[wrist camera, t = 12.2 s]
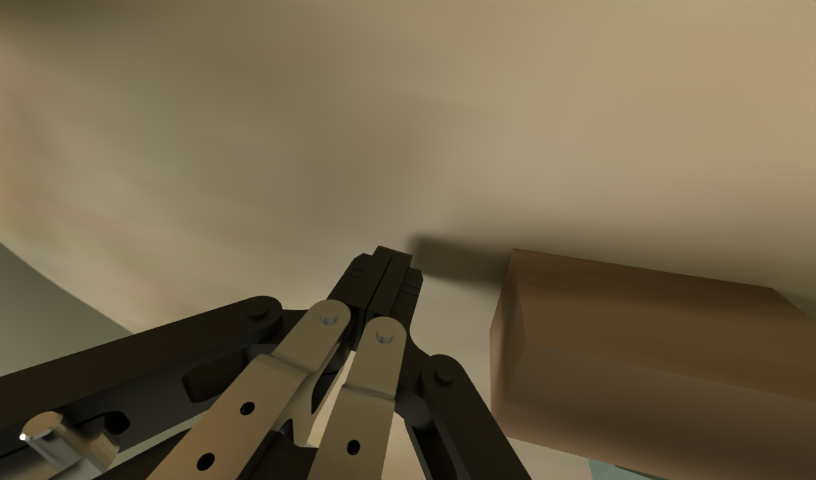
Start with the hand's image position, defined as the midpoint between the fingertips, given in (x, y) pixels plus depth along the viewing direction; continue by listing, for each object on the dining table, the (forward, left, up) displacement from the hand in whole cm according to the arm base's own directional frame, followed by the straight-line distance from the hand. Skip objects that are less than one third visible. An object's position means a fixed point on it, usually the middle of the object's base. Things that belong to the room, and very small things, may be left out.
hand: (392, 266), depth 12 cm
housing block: (0, +9, -1) cm, 10 cm away
